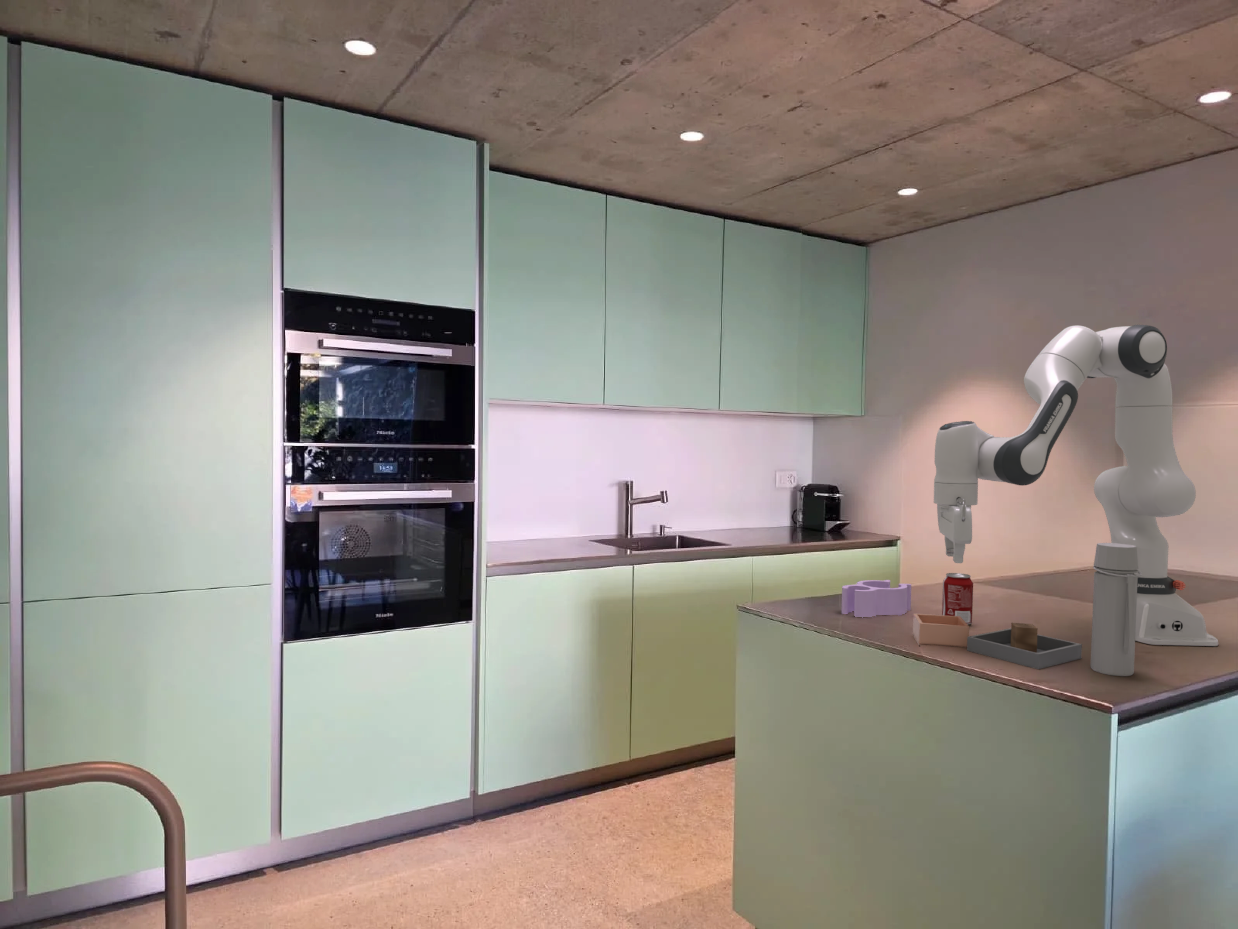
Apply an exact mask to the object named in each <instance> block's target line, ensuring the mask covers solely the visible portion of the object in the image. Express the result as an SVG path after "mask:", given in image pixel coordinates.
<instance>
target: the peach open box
mask: <svg viewBox="0 0 1238 929" xmlns="http://www.w3.org/2000/svg"><path fill="white" fill-rule="evenodd" d="M912 614H913V616H912V617H913V620H912V637H913V638H914V640H915V642H916V644H917V646H918V647H921V645H930V646H931V645H932V646H946V647H957V648H958V647H959V648H961V647H962V648H967V637H968V636H970V625H967V623H966V622H965V621H964V620H963V619H962V618H961V617H960V616H946V615H942V614H930V613H929V614H928V613H912Z"/></svg>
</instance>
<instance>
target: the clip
mask: <svg viewBox="0 0 1238 929" xmlns="http://www.w3.org/2000/svg"><path fill="white" fill-rule="evenodd" d="M841 586H842V587H841V615H843V614H848V613H854V614H853V615H854V616H855V617H862V618H861V619H864V618H863V617H872V616H875V617H877V616H876V615H898V616H902V614H904V615H906V614H907V611H911V608H912V584H911V583H898V587H891V580H890V579H884V580H879V579H877V580H876V579H872V580H871V579H869V580H868V579H867V580H865V579H864V580H860V581H857V582H856V583H854V584H846V585H841ZM852 611H854V612H852ZM905 613H906V614H905ZM848 615H849V614H848ZM855 617H854V618H855ZM872 618H873V617H872Z"/></svg>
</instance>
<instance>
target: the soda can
mask: <svg viewBox="0 0 1238 929" xmlns="http://www.w3.org/2000/svg"><path fill="white" fill-rule="evenodd" d="M945 575H946V576H945V578H944V579H943V581H942V603H941V604H942V605H941V615H946V616H960V617H961V618H962V619H963V620H964V621H965V622H966V623H967V625H968V626H970V625H971V624H972V623H973V606H974V605H973V604H974V603H973V602H974V600H973V599H974V582H973V580H972V579H971V577H972V575H970V574H968V573H967V574H966V573H961V572H948V573H946V574H945Z"/></svg>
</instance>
